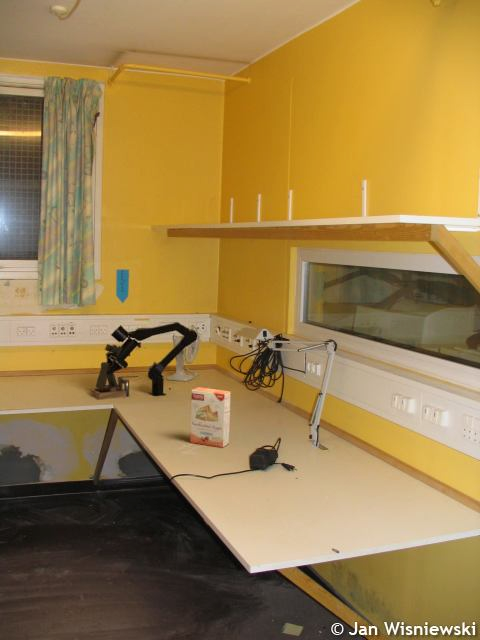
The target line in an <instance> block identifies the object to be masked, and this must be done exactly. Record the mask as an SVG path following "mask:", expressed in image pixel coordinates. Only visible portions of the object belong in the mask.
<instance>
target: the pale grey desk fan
mask: <svg viewBox="0 0 480 640" xmlns="http://www.w3.org/2000/svg"><path fill="white" fill-rule="evenodd" d="M192 327H193V328H194V330H195V331H196V333H197V339H196V341H194V342H193V343H192V344H190V345H188V346H187V347H185V348H184V349H183V350H182V351H181V352H180V353H179V354H178V355H177V356H176V357H175V358H174V359H175V362H176V367H175V369H176V371H175V373H173V374H171V375H169V376H167V377H166V380H169V381H178V382H188V381H191V380H193V379H195V377H194V376H200V375H201V373H199V372H196V371H192V370H191V369H189V368H188V367H186V366H185V365H184V363H185V364H187V365H192V364H193V363H194V362H195V360H196V358H197V356H198V354H199V352H200V347H201V343H202V339H200V338H201V332H199V331H198V329H197V327H196V326H195V325H190V326H189V327H187V328H188V329H192ZM182 337H183V335H175V334H173V335H172V343H173V348H174V347H175V346H176V345H177V344H178V343H179V342H180V340H181V339H182ZM184 368H185V369H186V370H187V371H188V372H190V374H187V373H185V370H184Z"/></svg>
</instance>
